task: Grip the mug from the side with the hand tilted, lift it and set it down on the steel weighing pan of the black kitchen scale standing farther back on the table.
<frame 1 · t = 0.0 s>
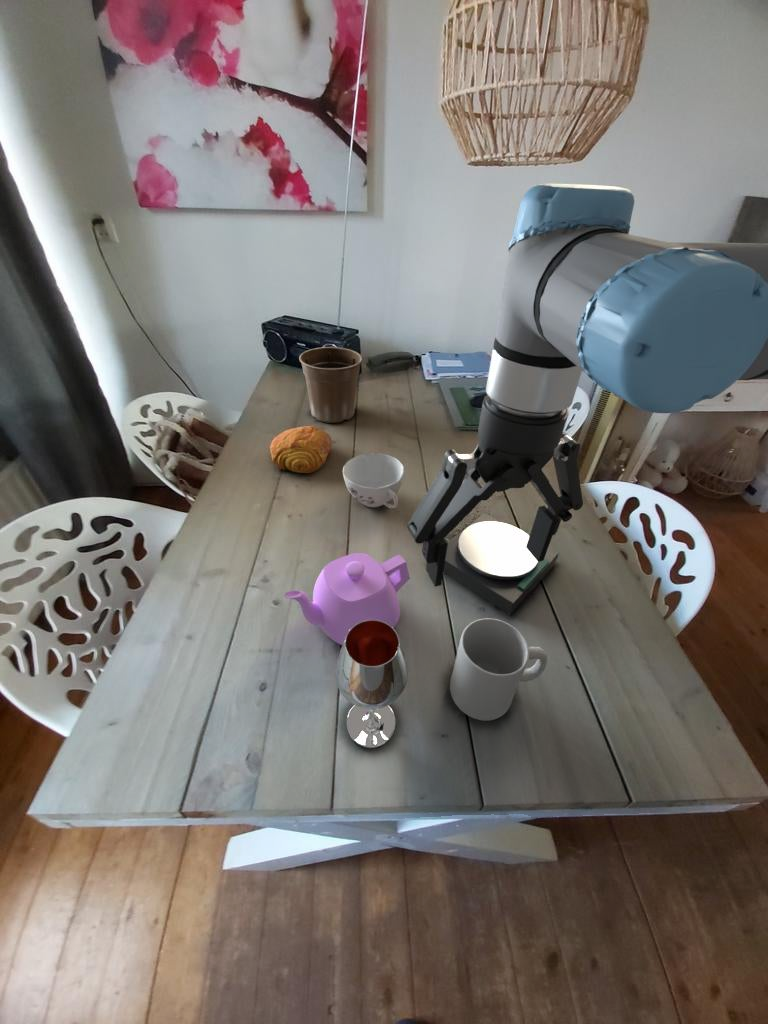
hand: (485, 565, 53), 20 cm above the table, tool pointing down, fingers open, 13 cm apart
scale: (493, 564, 80), on the table
teacup: (375, 503, 94), on the table
scale pan: (498, 548, 78), point 4 cm above the table, slide at -0.3 cm
wineglass: (371, 723, 58), on the table
teapot: (352, 617, 71), on the table
croissant: (301, 458, 107), on the table
plant pot: (333, 414, 125), on the table
mug: (492, 690, 61), on the table
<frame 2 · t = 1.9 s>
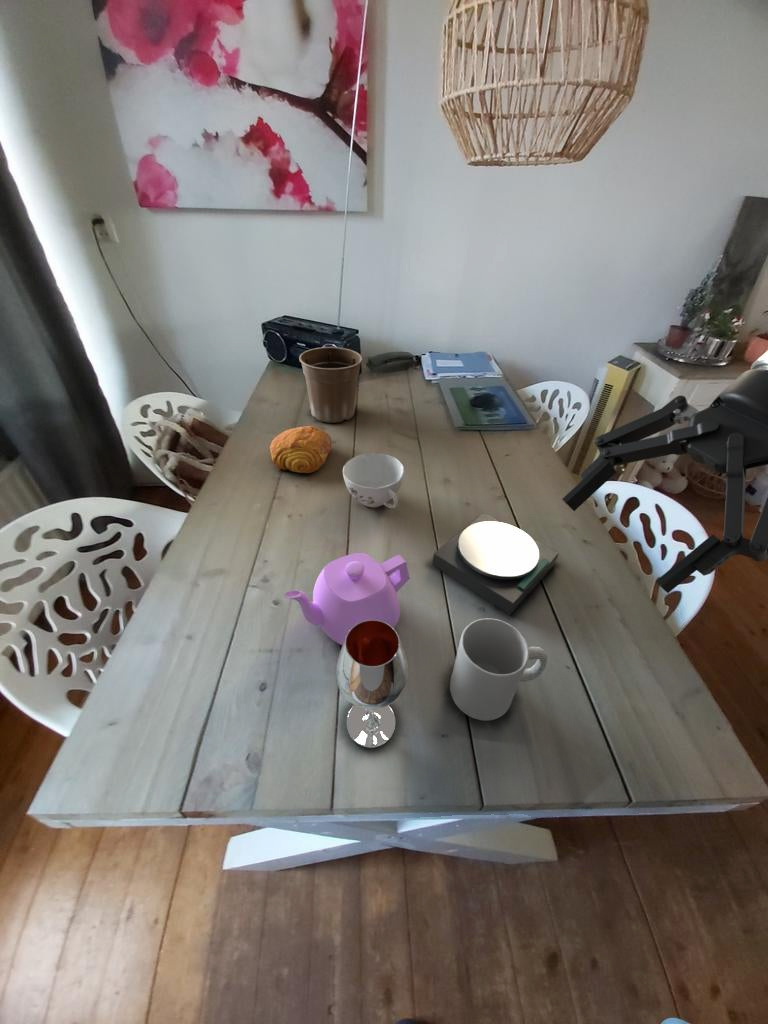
hand: (610, 542, 48), 25 cm above the table, tool tilted 45°, fingers open, 13 cm apart
nothing on the table moved.
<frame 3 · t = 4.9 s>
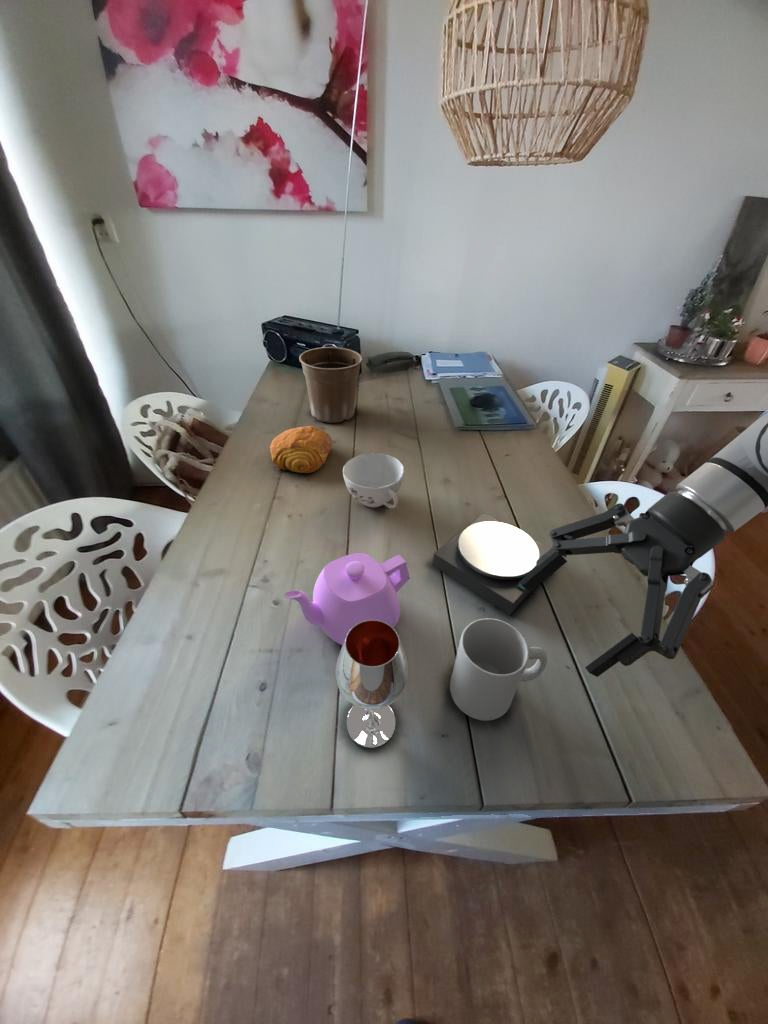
hand: (554, 626, 56), 12 cm above the table, tool tilted 45°, fingers open, 13 cm apart
nothing on the table moved.
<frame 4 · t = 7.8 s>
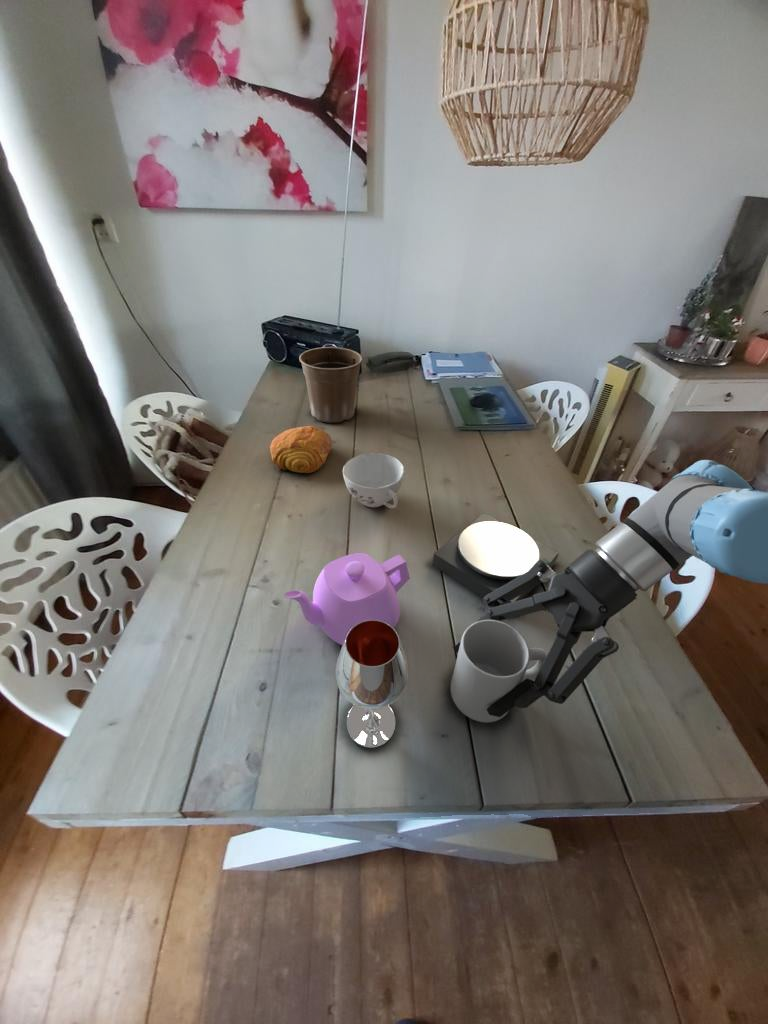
hand: (475, 680, 58), 4 cm above the table, tool tilted 45°, fingers closed on mug, 8 cm apart
mug: (492, 692, 61), on the table, touching gripper
everything else where it was.
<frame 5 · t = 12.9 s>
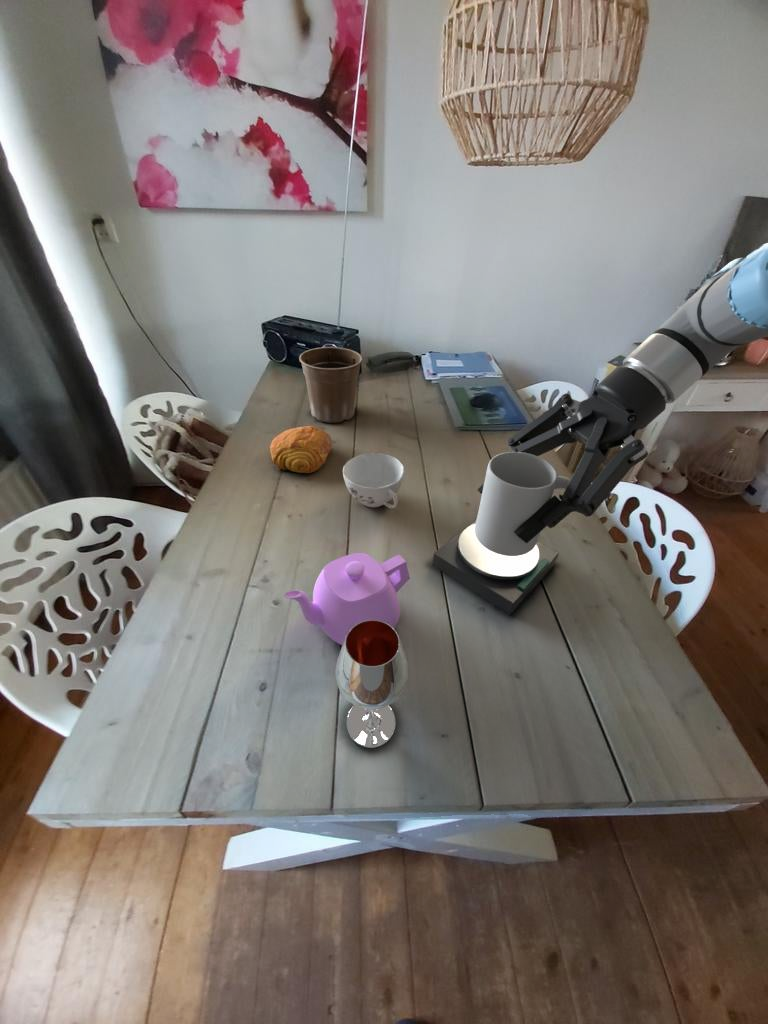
hand: (500, 515, 58), 21 cm above the table, tool tilted 45°, fingers closed on mug, 8 cm apart
mug: (516, 535, 61), point 17 cm above the table, touching gripper
everything else where it was.
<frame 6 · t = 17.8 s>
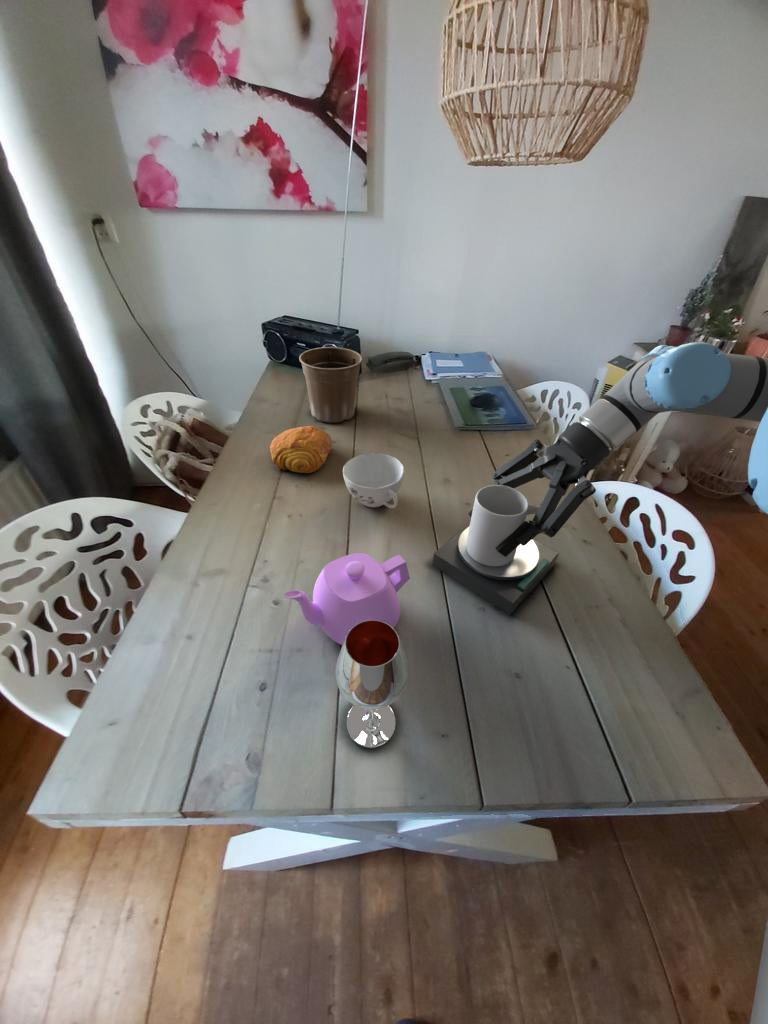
hand: (486, 534, 74), 8 cm above the table, tool tilted 45°, fingers closed on mug, 8 cm apart
scale pan: (497, 549, 78), point 4 cm above the table, slide at -0.4 cm, touching mug, scale
mug: (499, 549, 77), point 4 cm above the table, touching gripper, scale pan
everything else where it was.
when the fingers open (8 cm above the table, at t = 18.0 s): mug stays where it is, resting on scale pan.
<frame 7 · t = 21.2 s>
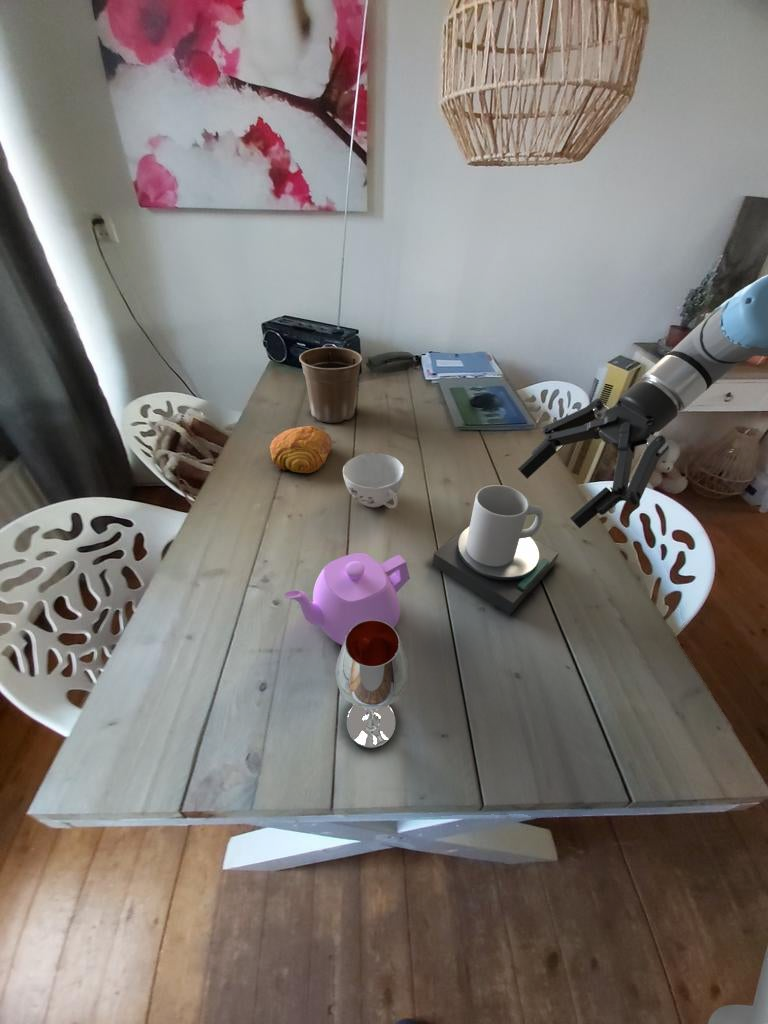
hand: (546, 497, 70), 16 cm above the table, tool tilted 45°, fingers open, 13 cm apart
mug: (499, 549, 77), point 4 cm above the table, touching scale pan
everything else where it was.
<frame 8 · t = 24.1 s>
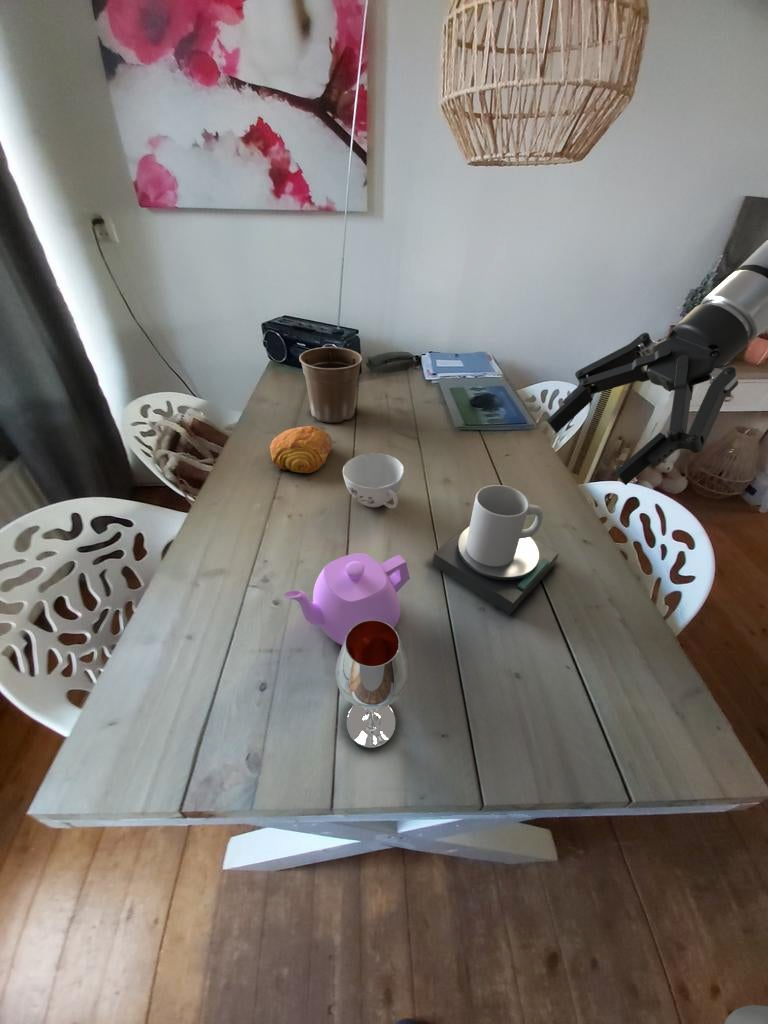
hand: (582, 450, 58), 28 cm above the table, tool tilted 45°, fingers open, 13 cm apart
nothing on the table moved.
at the end: mug inside the target area on the scale (0.4 cm from its centre), point 4.2 cm above the scale's base; mug tilted 0°; mug touching scale pan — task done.
